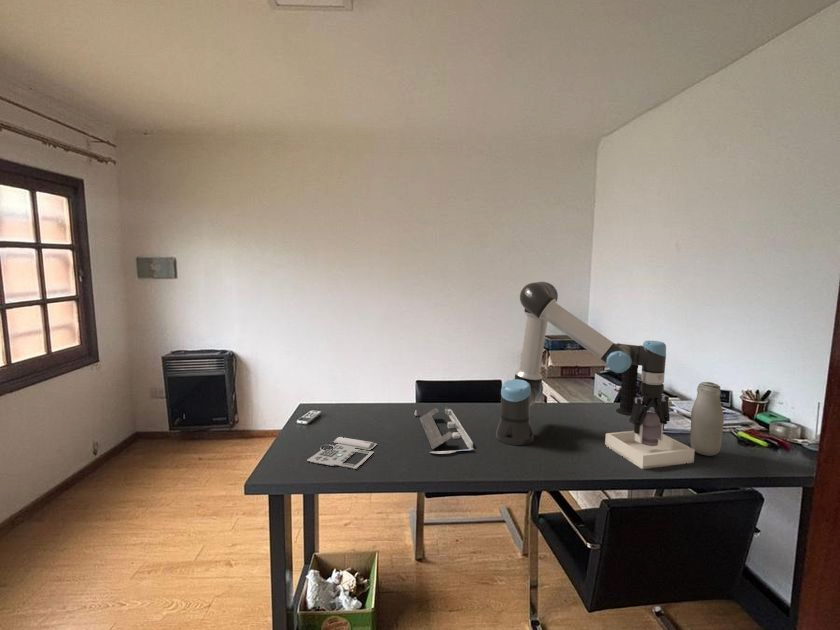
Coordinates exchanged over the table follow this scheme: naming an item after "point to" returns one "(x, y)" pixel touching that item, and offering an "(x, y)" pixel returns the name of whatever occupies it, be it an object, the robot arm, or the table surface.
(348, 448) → the office telephone
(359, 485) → the table surface
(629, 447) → the tray
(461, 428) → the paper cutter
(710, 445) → the beige milk bottle
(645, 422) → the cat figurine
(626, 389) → the handle grip
